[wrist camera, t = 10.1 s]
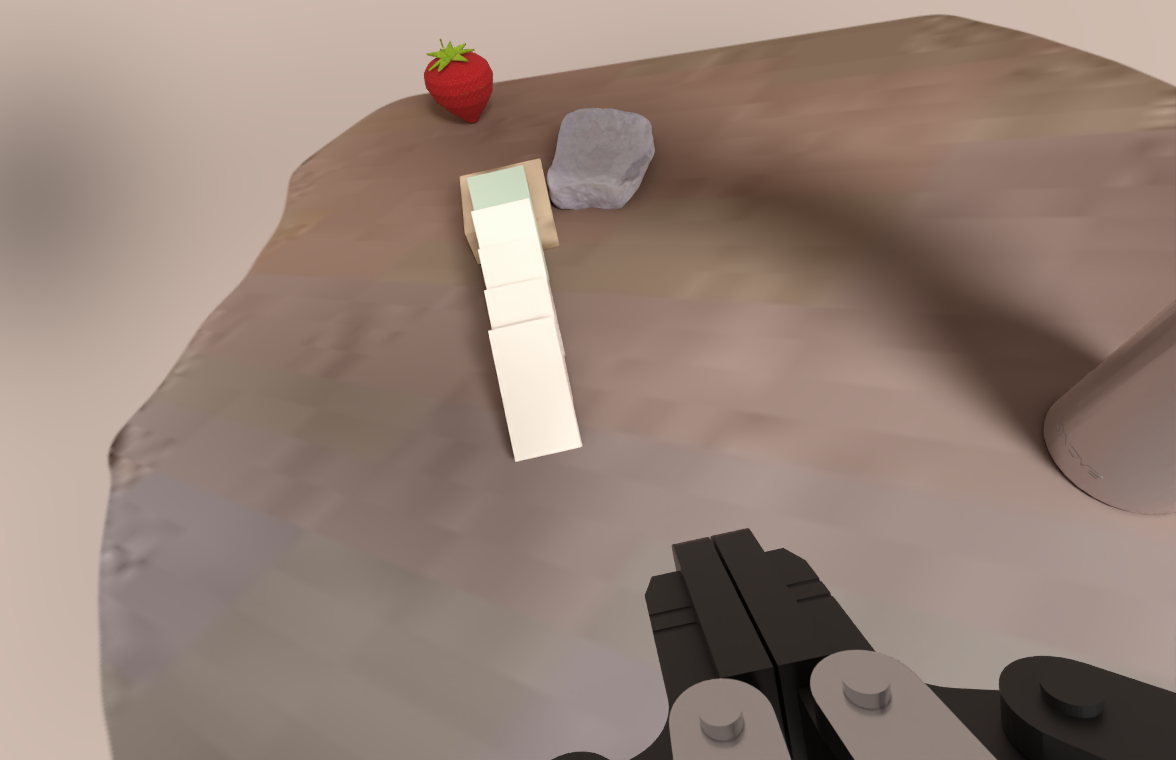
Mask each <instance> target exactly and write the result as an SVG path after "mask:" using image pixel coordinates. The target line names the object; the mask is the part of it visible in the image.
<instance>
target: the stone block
mask: <svg viewBox="0 0 1176 760" xmlns="http://www.w3.org/2000/svg"><path fill="white" fill-rule="evenodd" d="M654 153H655V148H654V143H653V136H652V126H651V124H650V122H649V120H647V119H646V118H644V117H643V116H641V115H639V114H636V113H631V112H625V111H619V110H615V109H612V108H608V109H599V108H585V109H578V110H576V111H574V112H572V113H568V114H567V115H566V116H565V117H564V119H563V120H562V123H561V127H560V131H559V135H558V140H557V146H556V153H555V157H554V160H553V162H552V166H551V167H550V168H549V169H548V173H547V186H548V190H549V197H550V200H551V201H552V203H553V204H554V205H555V206H556V207H558V208H559V209H573V210H575V209H583V208H588V207H597V208H603V209H621V208H622V207H623V206H624V205H625V204H626V203H627V202H628V201H629V199H630V198H632V196H633V195H634V193H635V192H636V191H637V189H638V188H639V185H640V183H641V181H642V179H643V176H644V174H645V173H646V170H647V168H648V166H649V163H650V162H651V160H652V158H653V155H654Z"/></svg>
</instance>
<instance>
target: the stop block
mask: <svg viewBox="0 0 1176 760" xmlns="http://www.w3.org/2000/svg"><path fill="white" fill-rule="evenodd" d="M521 165H523V166H524V169H525V172H526V177H527V181H528V186H529V190H530V195H531V199H532V203H533V208H534V212H535V217H536V221H537V226H538V230H539V234H540V239H541V243H542V248H543V250H544V249H549V248H553V247H558V246H559V241H558V236H557V232H556V227H555V222H554V218H553V213H552V208H551V204H550V199H549V194H548V190H547V185H546V181H545V177H544V172H543V168H542V164H541V160H540V158H539V159H534V160H530V161H526V162H521V163H517V164H512V165H508V166H504V167H499V168H495V169H491V170H486V171H482V172H477V173H473V174H469V175H464V176H460V185H461V196H462V206H463V217H464V228H465V235H466V237H467V240H468V242H469V245H470V247H471V249H472V252H473V254H474V256H475V259H476V261H477V263H478V264H481V262H480V257H479V253H478V249H480V247H479V243H478V239H477V235H476V231H475V227H474V222H473V218H472V214H471V211H474V208H473V203H472V199H471V195H470V191H469V186H468V182H467V178H468V177H472V176H477V175H481V174H486V173H490V172H494V171H499V170H503V169H508V168H512V167H516V166H521Z"/></svg>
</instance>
